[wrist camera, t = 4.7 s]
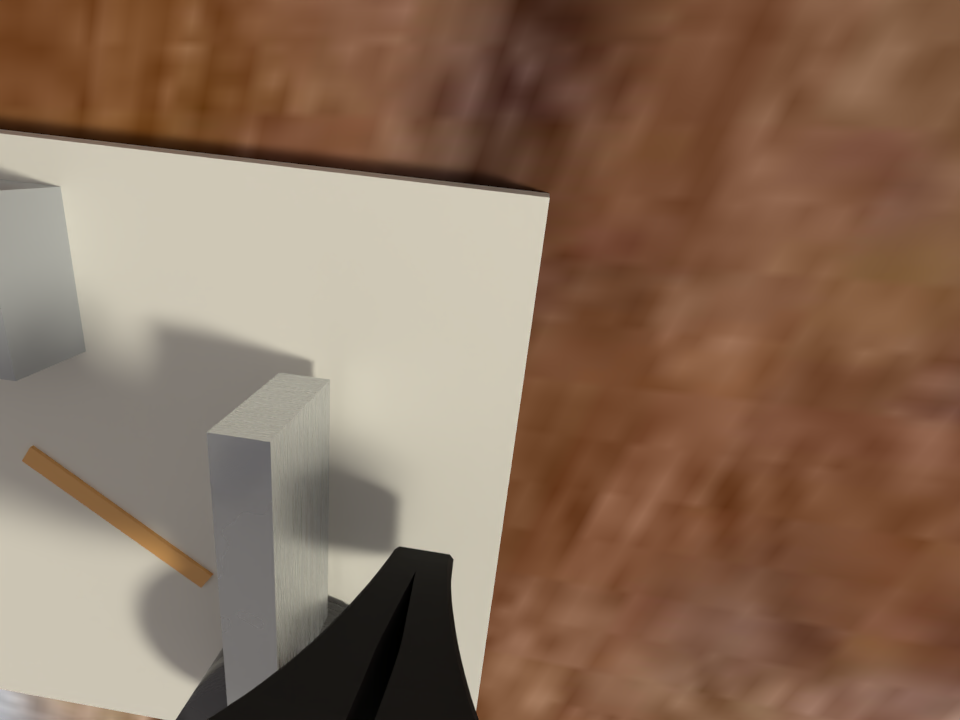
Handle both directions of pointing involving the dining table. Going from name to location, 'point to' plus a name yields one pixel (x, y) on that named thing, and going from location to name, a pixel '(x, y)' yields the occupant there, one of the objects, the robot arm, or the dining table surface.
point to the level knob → (268, 535)
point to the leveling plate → (238, 390)
